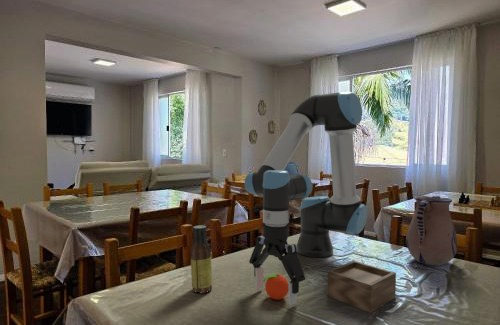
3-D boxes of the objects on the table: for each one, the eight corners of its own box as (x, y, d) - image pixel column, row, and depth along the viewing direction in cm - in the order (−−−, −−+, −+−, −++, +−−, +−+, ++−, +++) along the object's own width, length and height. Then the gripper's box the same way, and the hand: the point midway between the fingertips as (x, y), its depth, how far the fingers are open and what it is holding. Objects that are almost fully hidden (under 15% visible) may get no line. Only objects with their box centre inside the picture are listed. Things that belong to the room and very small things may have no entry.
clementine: (264, 304, 98) (264, 280, 97) (259, 294, 104) (259, 271, 104) (291, 302, 99) (291, 278, 99) (285, 292, 106) (285, 269, 105)
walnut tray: (327, 295, 104) (327, 271, 103) (353, 283, 113) (353, 260, 112) (370, 312, 93) (371, 285, 93) (395, 297, 102) (395, 272, 102)
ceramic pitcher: (459, 260, 136) (461, 196, 134) (452, 276, 119) (454, 204, 117) (410, 252, 146) (412, 192, 145) (398, 266, 129) (399, 199, 128)
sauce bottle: (215, 287, 109) (215, 225, 108) (206, 295, 103) (206, 229, 102) (196, 284, 111) (196, 223, 110) (187, 292, 105) (186, 228, 104)
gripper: (238, 218, 107) (238, 285, 108) (300, 234, 89) (299, 315, 90) (256, 215, 112) (255, 279, 113) (318, 229, 94) (317, 306, 95)
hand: (275, 295), depth 102 cm, fingers open, 13 cm apart
